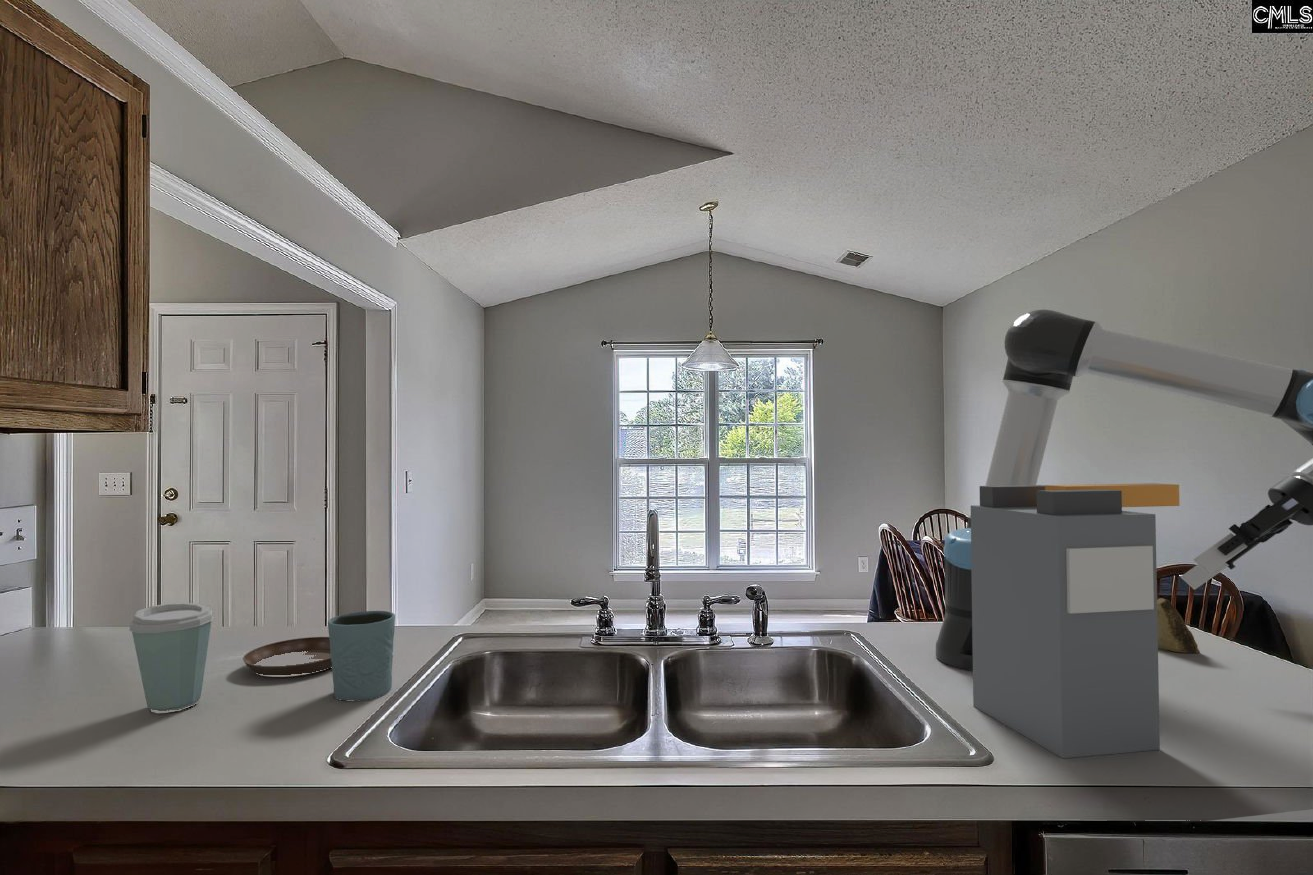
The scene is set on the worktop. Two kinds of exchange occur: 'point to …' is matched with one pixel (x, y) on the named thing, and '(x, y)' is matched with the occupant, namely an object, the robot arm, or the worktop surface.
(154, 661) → the disposable coffee cup
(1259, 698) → the worktop surface
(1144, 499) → the handle
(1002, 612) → the breaker panel
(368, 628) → the teal embossed cup
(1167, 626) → the rock
